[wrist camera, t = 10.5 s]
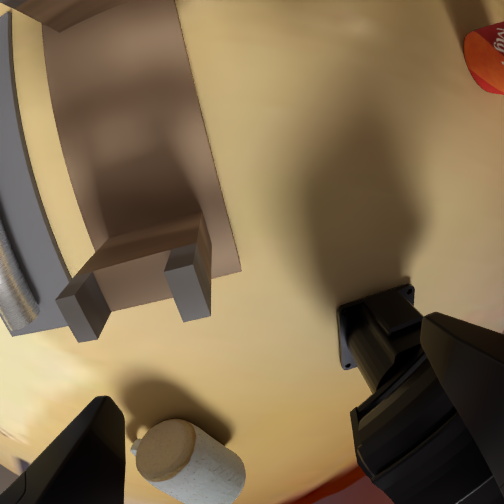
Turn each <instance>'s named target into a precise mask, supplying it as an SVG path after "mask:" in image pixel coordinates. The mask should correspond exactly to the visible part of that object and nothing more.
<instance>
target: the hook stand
mask: <svg viewBox="0 0 504 504" xmlns="http://www.w3.org/2000/svg"><path fill="white" fill-rule="evenodd" d="M0 2H1V3H3V4H5V5H7V6H9V7H11V8H13V9H15V10H17V11H19V12H21V13H23V14H25V15H27V16H29V17H31V18H33V19H35V20H37V21H39V22H41V23H42V34H43V46H44V56H45V64H46V72H47V78H48V85H49V91H50V97H51V102H52V108H53V113H54V117H55V122H56V127H57V131H58V135H59V140H60V144H61V148H62V152H63V156H64V159H65V163H66V167H67V170H68V174H69V177H70V180H71V184H72V187H73V190H74V193H75V196H76V200H77V203H78V206H79V209H80V212H81V214H82V217H83V220H84V223H85V226H86V228H87V231H88V234H89V237H90V239H91V242H92V244H93V247H94V249H95V254H94V255H93V256H92V257H91V258H90V259H89V260H88V261H87V262H86V264H85V265H84V266H83V267H82V268H81V269H80V270H79V272H78V273H77V274H76V275H75V276H74V277H73V279H72V280H71V281H70V282H69V283H68V285H67V286H66V287H65V288H64V289H63V291H62V292H61V293H60V294H59V296H58V297H57V298H56V299H55V302H56V304H57V306H58V307H59V309H60V311H61V313H62V315H63V317H64V319H65V320H66V322H67V324H68V326H69V328H70V329H71V331H72V333H73V335H74V336H75V338H76V340H77V341H78V343H80V342H86V341H91V340H97V339H98V338H99V336H100V334H101V332H102V330H103V328H104V325H105V323H106V321H107V319H108V317H109V315H110V313H111V312H112V311H117V310H121V309H126V308H130V307H135V306H139V305H143V304H148V303H152V302H156V301H160V300H165V299H169V298H174V300H175V303H176V305H177V308H178V310H179V313H180V315H181V318H182V320H183V322H187V321H191V320H196V319H200V318H204V317H209V316H211V279H213V278H217V277H221V276H225V275H229V274H233V273H237V272H241V271H242V270H241V264H240V260H239V256H238V252H237V248H236V245H235V241H234V237H233V233H232V230H231V226H230V222H229V218H228V214H227V211H226V207H225V203H224V199H223V195H222V191H221V187H220V184H219V180H218V176H217V172H216V168H215V164H214V160H213V156H212V152H211V148H210V144H209V141H208V137H207V133H206V129H205V125H204V121H203V117H202V113H201V109H200V105H199V100H198V96H197V92H196V88H195V84H194V80H193V76H192V72H191V68H190V64H189V59H188V55H187V51H186V47H185V43H184V38H183V34H182V30H181V26H180V21H179V17H178V13H177V9H176V4H175V0H0Z"/></svg>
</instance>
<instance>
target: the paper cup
mask: <svg viewBox="0 0 504 504" xmlns="http://www.w3.org/2000/svg"><path fill="white" fill-rule="evenodd" d="M463 48H464V56H465V60H466V63H467V66H468V69H469V71H470V73H471V75H472V77H473V78H474V80H475V81H476V83H477V84H478V85H479V86H480V87H481V88H482V89H483V90H485V91H487V92H490V93H495V94H502V95H504V21H503V22H500V23H496V24H493V25H489V26H486V27H483V28H480V29H477V30H474V31H472V32H470V33H468V34H467V35H466V37H465V39H464V45H463Z"/></svg>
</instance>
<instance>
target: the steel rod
mask: <svg viewBox="0 0 504 504" xmlns="http://www.w3.org/2000/svg"><path fill="white" fill-rule="evenodd" d="M40 311H41V310H40V308H39V306H38V304H37V302H36V300H35V298H34V296H33V294H32V292H31V290H30V288H29V286H28V284H27V282H26V280H25V277H24V275H23V273H22V271H21V269H20V266H19V264H18V262H17V259H16V257H15V255H14V252H13V250H12V247H11V245H10V242H9V240H8V237H7V234H6V231H5V229H4V226H3V223H2V220H1V217H0V313H1V314H2V316H3V318H4V320H5V322H6V323H7V325H8V327H9V328H10V330H11V331H16V330H19V329H22V328H24V327H25V326H27V325H28V324H30V323H31V322H32V321H34V320H35V319H36V318H37V316H38V315H39V314H40Z"/></svg>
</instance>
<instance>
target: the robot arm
mask: <svg viewBox="0 0 504 504" xmlns="http://www.w3.org/2000/svg"><path fill="white" fill-rule="evenodd" d="M408 290H409V291H408ZM407 291H408V292H407ZM414 292H415V289H414V287H413V286H412V285H411V284H405V285H402V286H399V287H397V288H393V289H390V290H387V291H384V292H381V293H378V294H375V295H372V296H369V297H367V298H364V299H361V300H358V301H355V302H351V303H348V304H345V305H342V306H341V307H339V309H338V311H337V316H338V328H339V342H340V357H341V366H342V368H343V369H344V370H349V369H352V368H355V367H358V368H359V370H360V372H361V374H362V375H363V377H364V379H365V381H366V383H367V384H368V386H369V388H370V390H371V392H372V395H371V396H370V397H369V398H368V399H367V400H365V401H364V402H363V403H362V404H361V405H360V406H358V407H355V408H354V409H353V410H352V411H351V412H350V416H351V423H352V430H353V438H354V445H355V453H356V457H357V463H358V465H359V466H360V467H361V468H362V470H363V471H364V473H365V474H366V475H367V476H368V477H369V478H370V479H371V481H372V483H373V484H374V485H376V486H377V487H378V488H380V489H381V490H382V491H384V492H385V493H386V495H387V496H388V497H389V498H391V499H392V501H393V502H394V504H504V334H501V333H498V332H495V331H492V330H489V329H486V328H483V327H480V326H477V325H474V324H471V323H468V322H465V321H463V320H460V319H457V318H454V317H451V316H448V315H445V314H442V313H439V312H433V313H431V314H428V315H426V316H423V315H422V314H421V313H420V312H419V311H418V310H417V309H416V308H415V307H414ZM344 311H346V312H345V313H344V314H342V313H343V312H344ZM125 464H126V459H125V418H124V415H123V413H122V411H121V410H120V409H119V408H118V406H117V405H116V404H115V402H114V401H113V400H112V398H111V397H109V396H97V397H95V398H94V399H93V400H92V401H91V402H90V403H89V404H88V405H87V406H86V407H85V408H84V409H83V411H82V412H81V413H80V414H79V415H78V416H77V417H76V418H75V419H74V420H73V421H72V422H71V423H70V424H69V425H68V426H67V427H66V428H65V429H64V430H63V431H62V432H61V433H60V434H59V435H58V436H57V437H56V438H55V440H54V441H53V442H52V443H51V444H50V445H49V446H48V447H47V448H46V449H45V450H44V451H43V452H42V453H41V454H40V455H39V456H38V457H37V458H36V459H35V460H34V461H33V462H32V464H31V465H30V466H29V467H28V468H27V469H26V471H24V472H23V473H22V474H21V475H20V476H19V477H18V478H17V479H16V480H15V481H14V482H13V483H12V484H11V485H10V486H9V487H8V488H7V489H6V490H5V491H4V492H3V493H2V494H1V495H0V504H124V483H125Z"/></svg>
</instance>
